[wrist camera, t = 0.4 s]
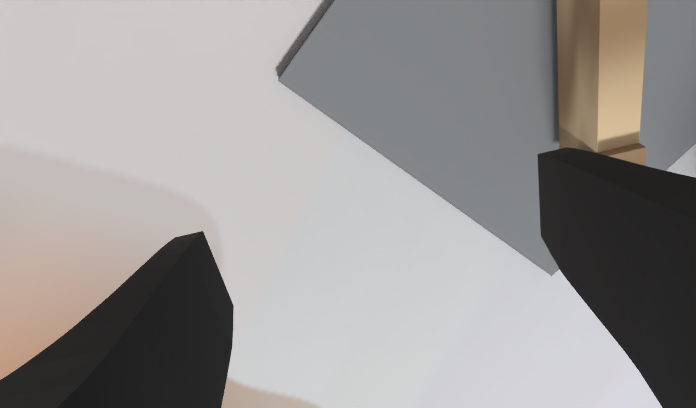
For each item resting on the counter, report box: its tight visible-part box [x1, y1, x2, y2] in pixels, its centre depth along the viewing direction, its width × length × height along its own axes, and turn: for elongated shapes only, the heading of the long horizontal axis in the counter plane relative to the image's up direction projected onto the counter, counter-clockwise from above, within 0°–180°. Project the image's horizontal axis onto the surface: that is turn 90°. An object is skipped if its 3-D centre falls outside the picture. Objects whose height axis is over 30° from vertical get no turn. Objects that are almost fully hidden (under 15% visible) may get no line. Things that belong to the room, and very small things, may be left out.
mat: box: [278, 0, 696, 276], centre depth 18 cm, size 15×16×1 cm
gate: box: [557, 0, 648, 166], centre depth 16 cm, size 10×1×3 cm, turn 12°
